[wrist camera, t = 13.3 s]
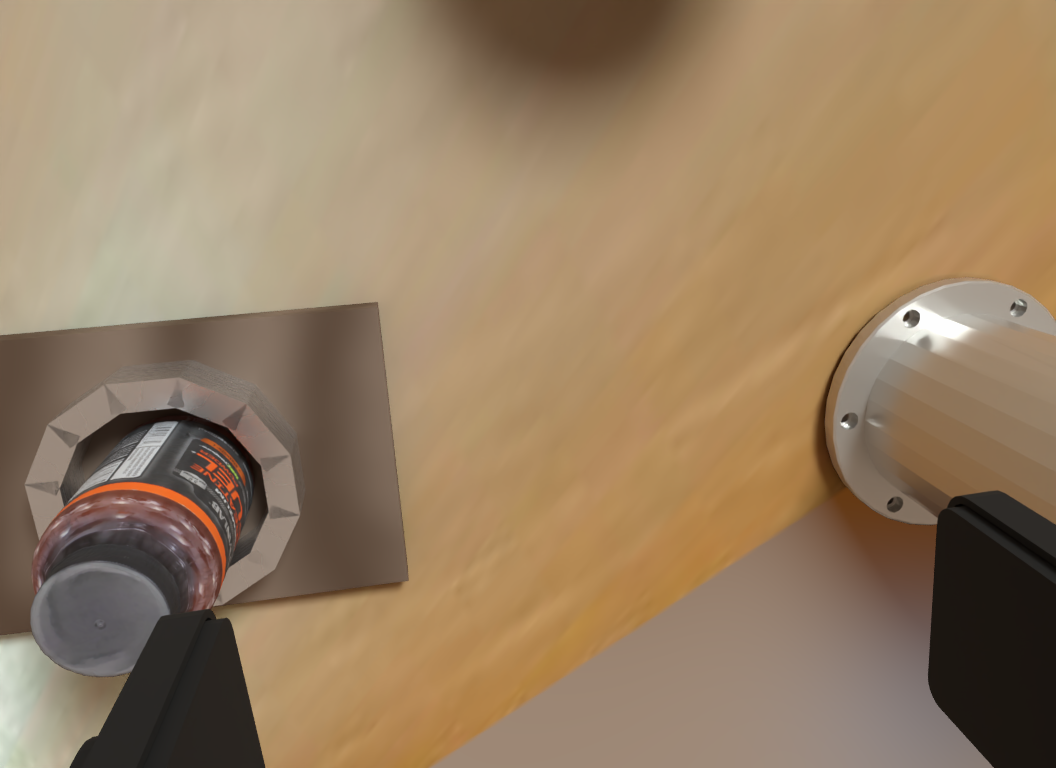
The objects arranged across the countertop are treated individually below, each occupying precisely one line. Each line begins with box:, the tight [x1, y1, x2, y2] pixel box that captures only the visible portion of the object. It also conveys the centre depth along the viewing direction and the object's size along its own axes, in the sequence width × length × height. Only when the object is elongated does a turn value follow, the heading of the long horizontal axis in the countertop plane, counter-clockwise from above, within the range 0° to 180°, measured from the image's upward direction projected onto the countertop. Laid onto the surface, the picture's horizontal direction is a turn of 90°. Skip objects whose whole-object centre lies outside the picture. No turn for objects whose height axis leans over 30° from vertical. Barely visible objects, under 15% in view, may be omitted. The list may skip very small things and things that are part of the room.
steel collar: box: [24, 360, 305, 606], centre depth 35 cm, size 10×10×2 cm
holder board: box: [0, 302, 409, 635], centre depth 36 cm, size 18×13×1 cm
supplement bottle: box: [30, 415, 255, 677], centre depth 30 cm, size 6×6×11 cm
